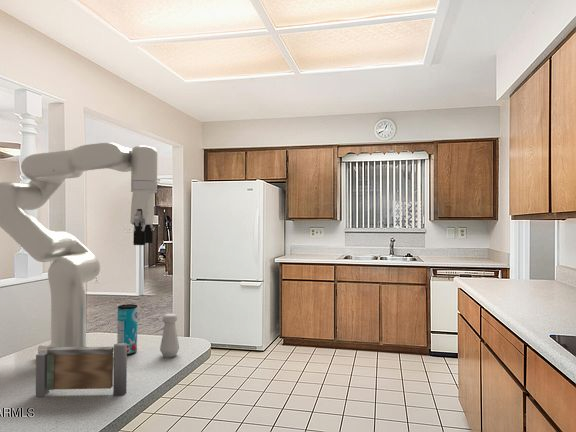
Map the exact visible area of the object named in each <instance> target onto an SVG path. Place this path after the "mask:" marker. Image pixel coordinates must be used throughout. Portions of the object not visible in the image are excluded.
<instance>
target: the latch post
mask: <svg viewBox="0 0 576 432" xmlns="http://www.w3.org/2000/svg"><path fill="white" fill-rule="evenodd" d="M48 394H50V390H47V352H41V353H37V354H36V355H35V397H37V398H38V397H41V398H42V397H45V396H47V395H48Z"/></svg>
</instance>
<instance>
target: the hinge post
mask: <svg viewBox="0 0 576 432" xmlns="http://www.w3.org/2000/svg"><path fill="white" fill-rule="evenodd" d="M113 347H114V350H113V386H112V388H113V396H115V397H116V396H117V397H118V396H119V397H120V396H124V395H125V394H127V382H128V381H127V377H128V376H127V371H128V370H127V368H128V367H127V365H128V364H127V362H128V358H127V357H128V355H127V343H115V344H113Z"/></svg>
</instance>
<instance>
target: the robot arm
mask: <svg viewBox="0 0 576 432" xmlns="http://www.w3.org/2000/svg"><path fill="white" fill-rule="evenodd" d="M20 169H21V172H22V173H23V175H24V176H25V177H26V178H27V179H29V180H30V181H29V182H28V183H25V182H19V181H17V182H16V181H4V182H3V181H2V182H0V228H1V229H2V230H3V231H4V232H6V234H8V235H9V236H10V237H11V238H12V239H13V240H14V241H15V242H16V244H18V245H19V246H20V247H21V248H22V249H23V250H24V251H25V252H26V253H27V254H28V255H29V256H30V257H31V258H33V260H35V261H37V262H40V263H49V262H51V263H50V265H49V267H48V271H47V277H48V278H47V279H48V284H49V290H50V343H49V345H46V344H44V345H43V344H40V345H38V348H37V354H39V353H41V352H47V350H48V349H50V348H51V347H87V295H86V294H87V293H86V290H85V289H84V285H83V284H84V283H88V282H91V281H93V280H95V279H96V277H98V275H99V274H100V271H101V265H100V261H99V259H98V258H97V257H96V255H95V254H94V253H93V252H92V251H91V250H90V249H89V248H87V246H85V244H83V243H82V242H81V241H80V240H79V239H78V238H77V237H76V236H75V235H74V234H72V233H70V232H68V231H64V230H50V229H48V228H46V226H44V225H43V224H42V223H41V222H40V221H39V220H38V218H36V217H35V216H33V215H32V214H30V213H28V212H27V211H33V210H37V209H39V208H41V207H43V206H44V205H45V204H46V203H47V201H49V199H50V198H51V196H53V195H54V193H55V192H56V191H58V189H59V187H61V185H62V184H63V183H64V181H65V179H77V178H80V177H81V176H82V175H83V173H84V172H87V171H94V170H102V169H103V170H104V169H110V170H114V171H117V172H122V173H126V172H127V173H128V172H130V192H131V193H132V195H131V204H130V205H131V207H130V219H129V221H130V224H131V225H133V246H145V245H146V244H153V243H154V238H153V237H154V231H153V230H154V228H153V227H154V226H153V224H154V222H155V194H157V193H158V150H157V149H156V148H155V147H152V146H147V145H137V146H134V147H132V148H129V147H127V146H126V147H125V146H122V145H120V144H117V143H115V142H99V143H90V144H84V145H80V146H77V147H75V148H73V149H66V150H59V151H48V152H41V153H40V152H39V153H33V154H31V155H28V156H26V157H24V158H23V160H22V162H21V164H20ZM25 210H26V211H25Z"/></svg>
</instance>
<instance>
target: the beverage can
mask: <svg viewBox="0 0 576 432" xmlns="http://www.w3.org/2000/svg"><path fill="white" fill-rule="evenodd" d="M116 327H117V331H116V332H117V333H116V334H117V336H116V337H117V343H127V356H131V355H134V354H136V353H137V351H138V305H137V304H133V303H129V304H128V303H127V304H121V305H119V306H117V326H116ZM117 343H116V344H117Z"/></svg>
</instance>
